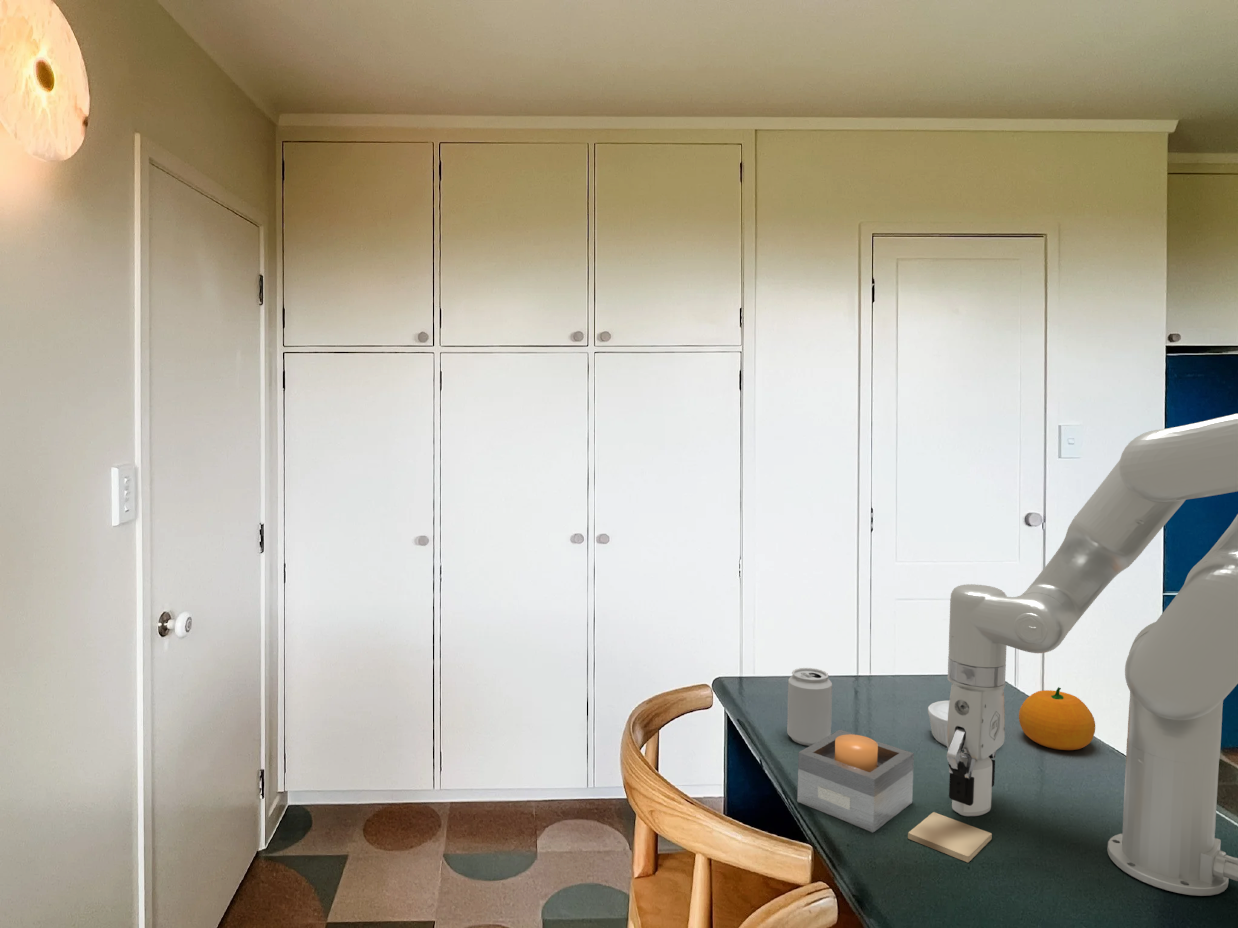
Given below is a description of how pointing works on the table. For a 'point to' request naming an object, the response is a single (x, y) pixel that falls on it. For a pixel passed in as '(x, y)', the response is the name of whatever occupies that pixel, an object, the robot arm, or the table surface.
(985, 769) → the eye dropper bottle
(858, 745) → the button
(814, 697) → the can
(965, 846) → the coaster
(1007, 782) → the table surface
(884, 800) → the grey box
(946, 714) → the ramekin
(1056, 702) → the fruit
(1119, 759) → the table surface
